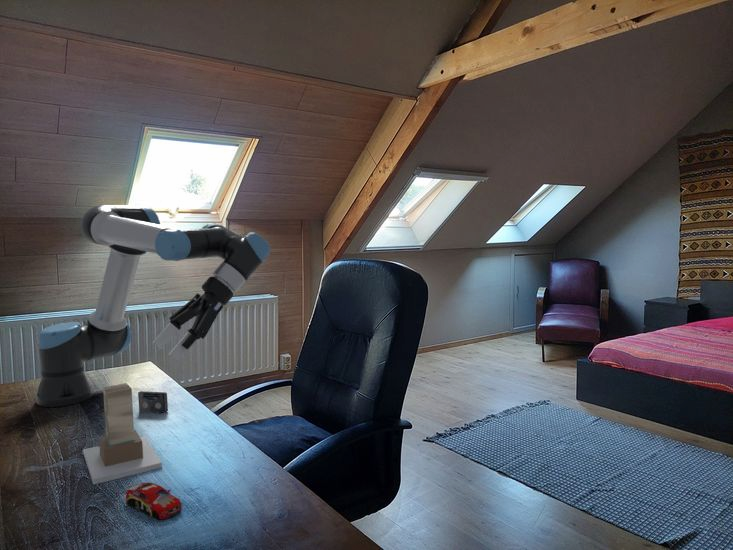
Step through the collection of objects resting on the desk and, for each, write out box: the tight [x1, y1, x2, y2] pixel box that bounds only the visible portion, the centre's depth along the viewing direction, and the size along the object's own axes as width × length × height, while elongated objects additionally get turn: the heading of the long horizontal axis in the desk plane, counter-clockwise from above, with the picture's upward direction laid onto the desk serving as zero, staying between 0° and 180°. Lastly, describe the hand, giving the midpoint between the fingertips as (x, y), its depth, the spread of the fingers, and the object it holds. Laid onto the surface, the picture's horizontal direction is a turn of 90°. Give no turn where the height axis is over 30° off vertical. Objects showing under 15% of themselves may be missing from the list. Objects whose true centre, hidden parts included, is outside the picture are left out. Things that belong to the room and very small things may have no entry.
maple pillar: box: [102, 383, 135, 444], centre depth 126 cm, size 5×5×12 cm
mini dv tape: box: [137, 390, 169, 414], centre depth 159 cm, size 8×2×6 cm, turn 80°
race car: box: [125, 481, 182, 521], centre depth 106 cm, size 13×5×4 cm, turn 54°
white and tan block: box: [82, 429, 163, 485], centre depth 127 cm, size 18×14×5 cm
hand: (164, 352), depth 130 cm, fingers open, 13 cm apart
